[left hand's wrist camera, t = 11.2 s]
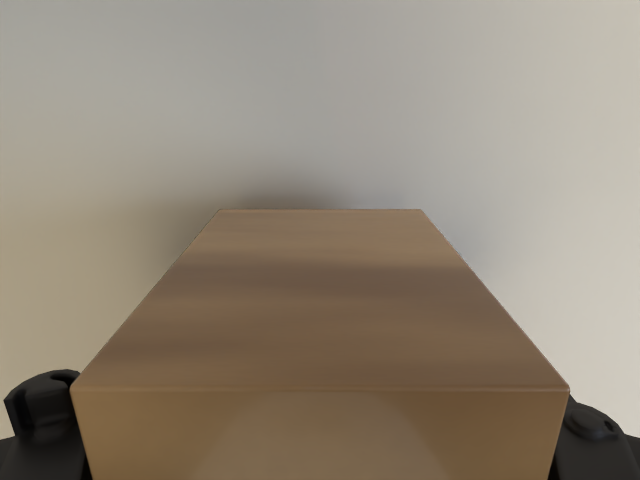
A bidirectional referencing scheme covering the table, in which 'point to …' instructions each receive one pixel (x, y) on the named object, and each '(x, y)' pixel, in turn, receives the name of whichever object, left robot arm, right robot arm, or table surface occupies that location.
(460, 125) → the table surface
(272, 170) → the table surface
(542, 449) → the box
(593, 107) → the table surface
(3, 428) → the table surface
